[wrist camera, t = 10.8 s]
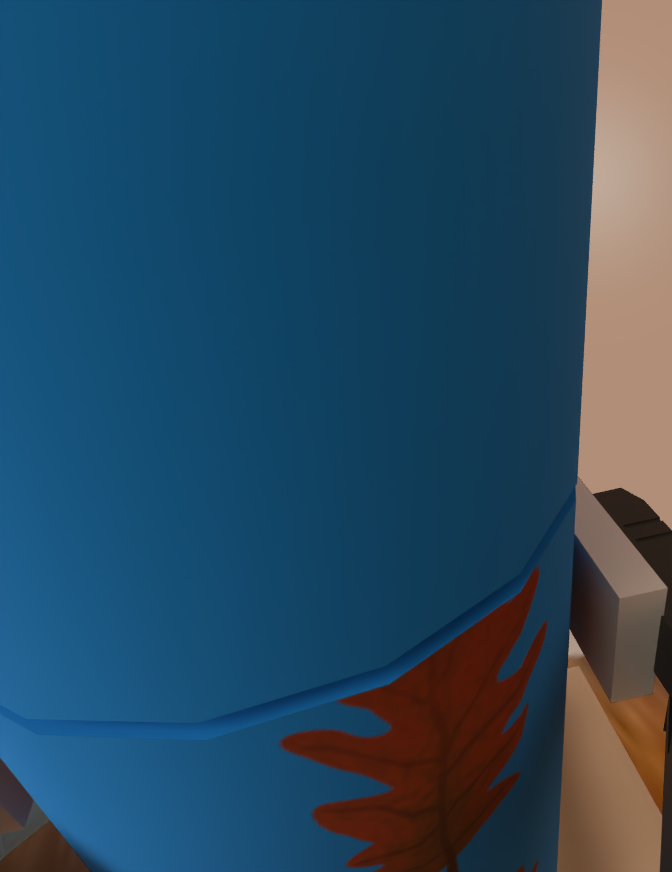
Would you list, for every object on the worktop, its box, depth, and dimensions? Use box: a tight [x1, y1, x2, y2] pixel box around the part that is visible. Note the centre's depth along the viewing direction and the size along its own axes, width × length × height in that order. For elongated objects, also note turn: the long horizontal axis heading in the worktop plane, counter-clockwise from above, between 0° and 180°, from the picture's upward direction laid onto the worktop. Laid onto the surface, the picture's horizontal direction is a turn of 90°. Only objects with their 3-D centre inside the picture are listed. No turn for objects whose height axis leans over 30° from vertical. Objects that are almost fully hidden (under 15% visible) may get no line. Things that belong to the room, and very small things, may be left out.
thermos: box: [0, 0, 602, 872], centre depth 13 cm, size 11×11×25 cm
